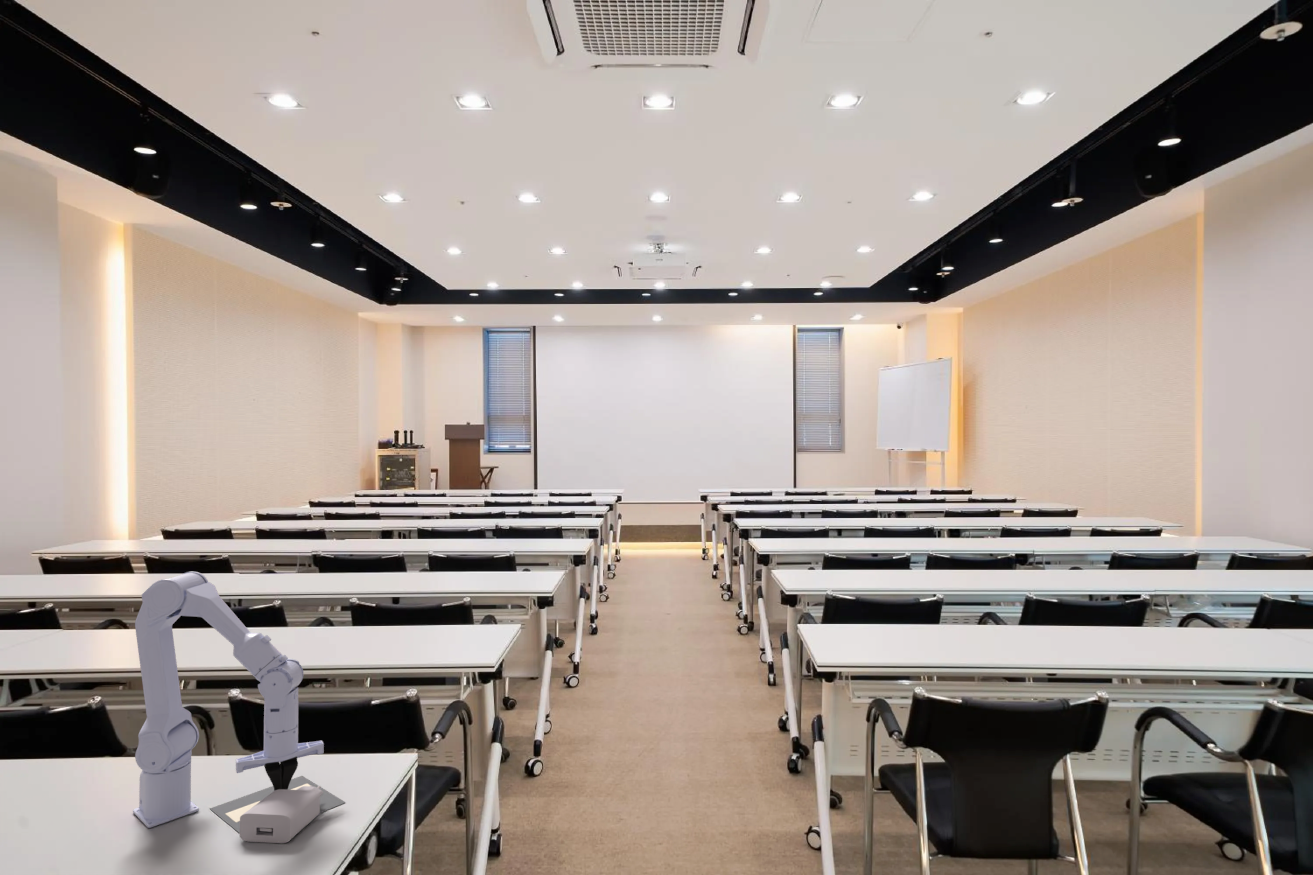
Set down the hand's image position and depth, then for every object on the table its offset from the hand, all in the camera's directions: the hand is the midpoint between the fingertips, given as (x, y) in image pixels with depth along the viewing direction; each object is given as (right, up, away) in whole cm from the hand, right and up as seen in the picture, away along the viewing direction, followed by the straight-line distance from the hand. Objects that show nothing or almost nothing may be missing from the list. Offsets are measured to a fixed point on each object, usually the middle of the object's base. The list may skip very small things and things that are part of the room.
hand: (280, 800), depth 131 cm
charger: (+4, -1, -5) cm, 7 cm away
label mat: (-1, -1, +1) cm, 2 cm away
